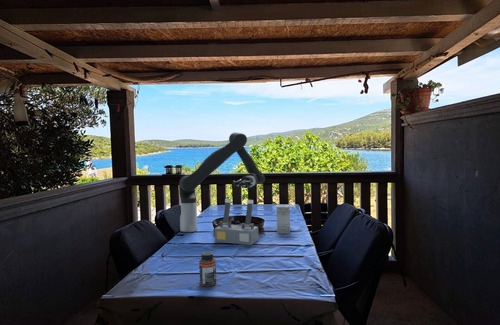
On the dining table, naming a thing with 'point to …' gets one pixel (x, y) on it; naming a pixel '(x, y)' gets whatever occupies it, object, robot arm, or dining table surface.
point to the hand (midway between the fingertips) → (236, 184)
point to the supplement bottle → (207, 269)
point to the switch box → (236, 234)
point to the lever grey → (248, 213)
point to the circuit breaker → (283, 219)
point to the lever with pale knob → (226, 212)
